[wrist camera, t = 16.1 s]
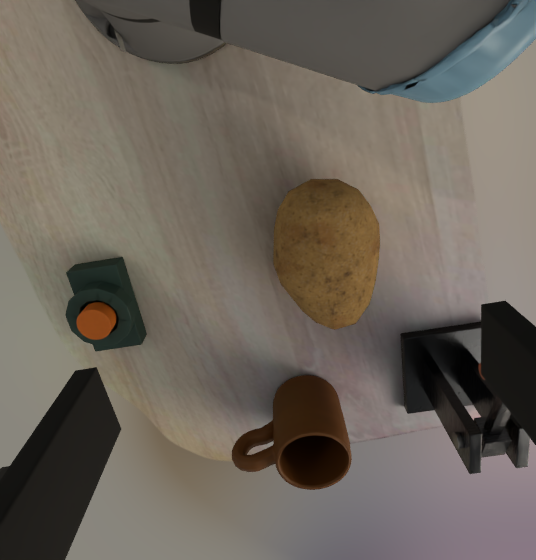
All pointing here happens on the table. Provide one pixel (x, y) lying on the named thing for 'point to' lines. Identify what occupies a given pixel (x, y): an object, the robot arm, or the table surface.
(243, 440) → the mug
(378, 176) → the table surface
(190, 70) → the table surface
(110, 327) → the button
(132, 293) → the button block
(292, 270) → the potato
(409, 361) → the bracket
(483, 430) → the lever
